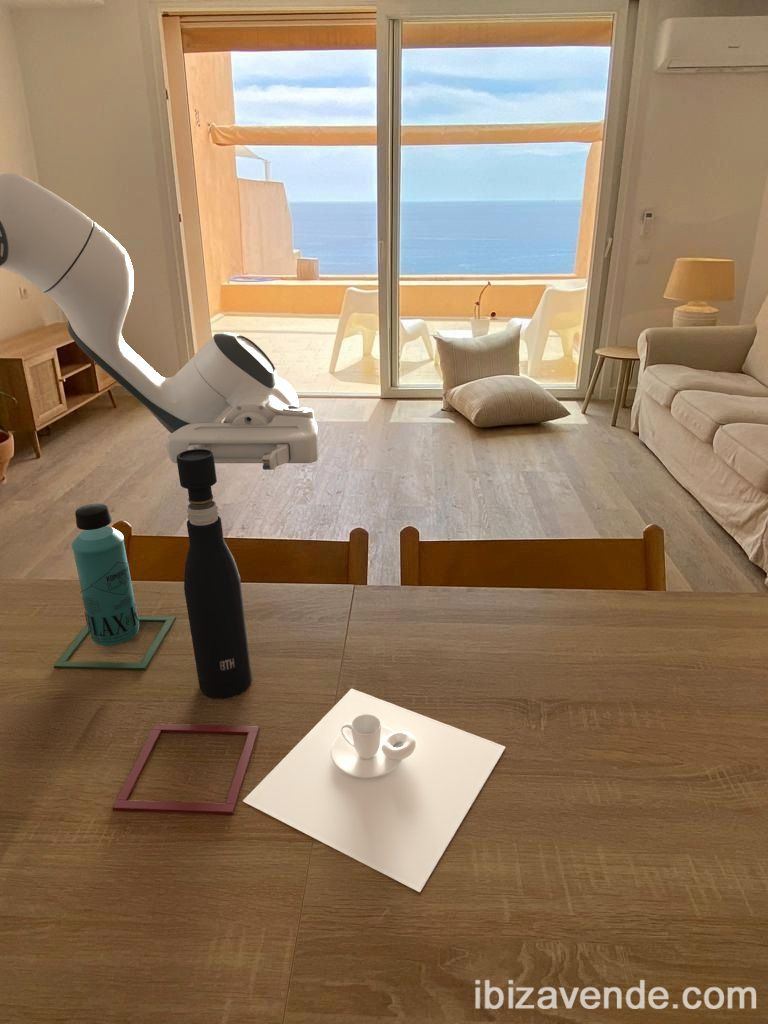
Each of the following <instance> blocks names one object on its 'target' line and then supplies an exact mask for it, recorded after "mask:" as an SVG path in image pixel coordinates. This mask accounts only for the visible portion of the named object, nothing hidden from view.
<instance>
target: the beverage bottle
mask: <svg viewBox="0 0 768 1024" xmlns="http://www.w3.org/2000/svg"><path fill="white" fill-rule="evenodd" d="M109 509H110V508H109V507H108V505H107V504H105V503H99V502H98V503H89V504H84V505H82V506H80V507H77V509H76V510H75V513H74V514H75V524H76V525H75V526H76V527H77V528H78V529H79V530H82V531H80V532H79V533H78V534H77V535H76V537H75V538H74V539H73V540H72V542H71V549H72V552H73V557H74V562H75V567H76V571H77V575H78V581H79V585H80V592H79V593H80V594H81V602H82V604H83V609H84V616H85V620H86V625H87V626H88V625H89V627H88V630H89V629H90V631H89V635H90V638H91V640H92V642H94V643H95V644H96V645H98V646H102V647H113V646H119V645H122V644H125V643H127V642H129V641H131V640H133V639H134V638H135V637H136V636H137V634H138V633H139V630H140V626H141V625H140V624H141V622H139V621H140V620H139V619H138V617H139V616H140V615H138V611H139V610H138V608H137V602H136V599H135V594H134V593H135V591H134V589H133V587H134V586H133V582H132V579H131V578H132V576H131V571H130V563H128V557H127V552H126V551H127V550H126V546H125V538H124V534H123V533H122V532H121V531H119V530H117V529H115V528H114V527H112V526H109V525H110V524H111V523H112V521H113V520H112V515H111V512H110V510H109Z"/></svg>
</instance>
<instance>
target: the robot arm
mask: <svg viewBox="0 0 768 1024" xmlns="http://www.w3.org/2000/svg"><path fill="white" fill-rule="evenodd" d="M0 269H4V270H6V271H9V272H11V273H13V274H14V275H16V276H18V277H20V278H22V279H23V280H25V281H26V282H27V283H29V284H30V285H32V286H33V287H35V288H36V289H38V290H39V291H41V292H42V293H43V294H45V295H46V296H47V297H49V298H50V299H51V300H52V301H54V302H55V304H56V305H57V306H58V307H59V309H60V310H61V311H62V312H63V313H64V315H65V317H66V318H67V331H68V332H67V333H68V334H69V335H70V337H71V339H72V340H73V341H74V342H75V344H76V345H77V346H78V348H80V349H81V350H82V352H83V353H84V354H86V356H87V357H89V358H90V359H91V361H93V362H94V363H95V364H96V365H97V366H98V367H100V368H101V370H102V371H104V372H105V373H106V374H108V376H110V377H111V378H112V379H113V380H114V381H115V382H116V383H117V384H119V385H120V386H121V387H123V389H125V390H126V391H127V392H128V393H129V394H130V395H132V397H134V398H135V399H136V400H137V401H138V402H140V404H141V405H143V406H144V407H145V408H146V409H147V410H148V411H149V412H150V413H151V415H152V416H154V417H155V419H157V421H158V422H159V423H160V424H161V426H163V427H164V428H165V429H166V430H167V432H169V433H170V434H169V435H168V436H167V437H166V451H167V456H168V459H169V460H170V462H172V463H173V464H177V455H178V454H179V453H181V452H184V451H187V450H192V449H206V450H210V451H212V452H213V454H214V462H215V464H262V470H263V471H275V470H276V469H277V467H279V466H282V465H284V464H312V463H316V462H317V461H319V456H320V451H319V450H320V449H319V435H318V424H317V422H316V420H315V415H314V410H313V409H312V408H309V407H302V406H300V405H299V399H298V395H297V393H296V391H295V389H294V388H293V387H292V385H291V384H290V383H289V382H288V381H286V379H283V378H281V377H279V376H278V374H277V370H276V367H275V365H274V363H273V362H272V361H271V359H270V358H269V356H268V355H267V354H266V353H265V352H264V351H263V350H262V349H261V347H259V346H258V345H257V344H256V343H255V342H254V341H253V340H251V339H249V337H246V336H243V335H241V334H236V333H231V332H217V333H214V335H213V336H212V337H211V338H210V339H208V341H206V342H205V343H204V345H203V346H202V347H200V349H199V350H197V351H196V353H195V354H194V355H193V356H192V357H191V359H190V360H188V361H187V362H186V363H185V364H184V366H182V367H181V368H180V369H179V370H178V371H177V372H176V374H174V375H173V376H170V377H164V376H161V375H160V374H159V373H158V372H156V370H154V368H153V367H152V366H150V364H148V363H147V362H146V361H145V360H144V359H143V358H142V357H141V356H140V355H139V354H137V353H136V352H135V351H134V350H133V349H132V348H131V347H130V346H129V345H128V344H127V343H126V342H125V340H124V338H123V335H122V330H123V327H124V323H125V320H126V317H127V314H128V311H129V307H130V305H131V300H132V296H133V292H134V279H135V278H134V268H133V265H132V262H131V259H130V256H129V254H128V252H127V251H126V249H125V247H123V246H122V245H121V243H120V242H119V241H118V240H117V239H116V238H114V236H113V235H111V234H110V233H109V232H108V231H107V230H105V229H104V228H103V227H102V226H101V225H100V224H98V223H97V222H96V221H95V220H93V219H92V218H90V217H89V216H88V215H86V214H85V213H83V211H81V210H80V209H78V208H77V207H75V206H74V205H72V204H71V203H70V202H68V201H67V200H65V199H64V198H62V197H60V196H59V195H57V194H56V193H54V192H53V191H51V190H49V189H47V188H46V187H44V186H42V185H40V184H39V183H37V182H35V181H33V180H32V179H30V178H28V177H26V176H23V175H21V174H18V173H13V172H6V173H1V174H0ZM222 421H223V422H222Z"/></svg>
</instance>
